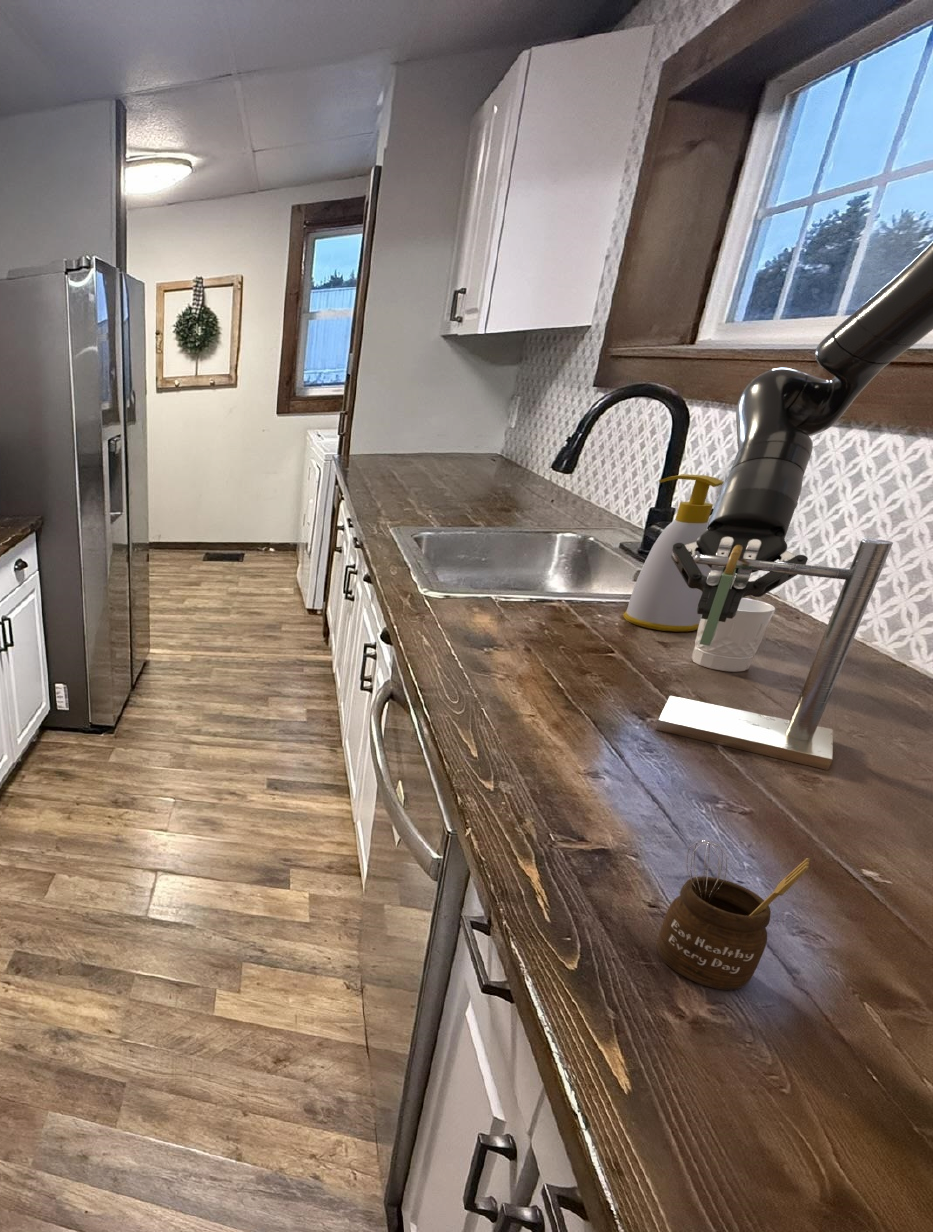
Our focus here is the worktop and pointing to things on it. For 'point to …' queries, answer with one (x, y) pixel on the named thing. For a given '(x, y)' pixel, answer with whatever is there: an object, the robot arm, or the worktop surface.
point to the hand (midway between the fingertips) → (714, 617)
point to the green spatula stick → (721, 596)
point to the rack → (802, 732)
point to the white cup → (734, 638)
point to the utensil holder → (718, 928)
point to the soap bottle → (672, 568)
